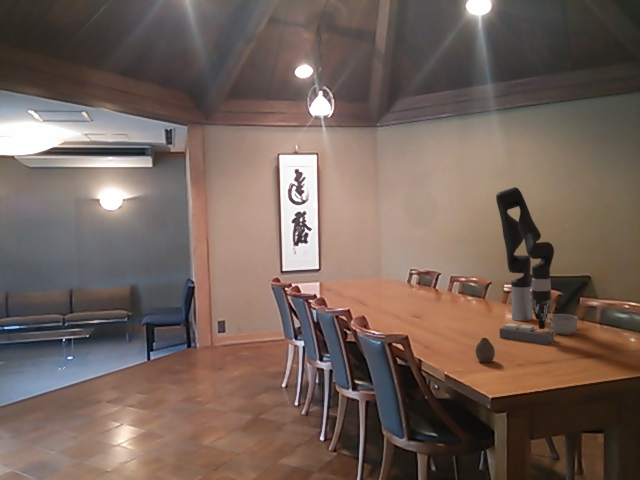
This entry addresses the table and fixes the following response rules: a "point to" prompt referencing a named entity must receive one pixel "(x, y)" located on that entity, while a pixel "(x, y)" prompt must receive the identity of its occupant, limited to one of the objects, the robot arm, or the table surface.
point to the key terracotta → (541, 331)
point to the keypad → (527, 336)
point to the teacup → (563, 323)
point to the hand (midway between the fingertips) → (541, 328)
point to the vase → (485, 351)
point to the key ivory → (511, 326)
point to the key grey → (526, 328)
